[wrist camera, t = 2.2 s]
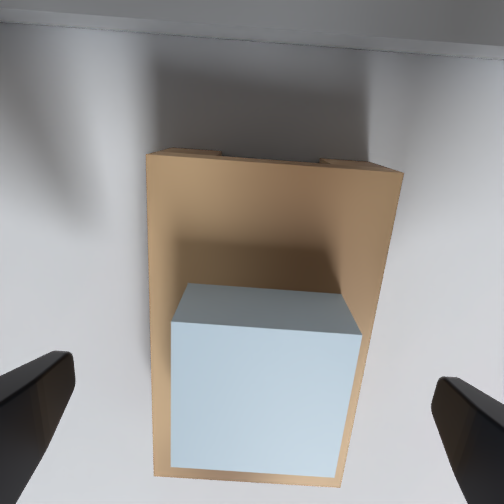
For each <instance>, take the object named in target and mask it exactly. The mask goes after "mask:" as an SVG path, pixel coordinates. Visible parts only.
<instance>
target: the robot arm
mask: <svg viewBox="0 0 504 504" xmlns="http://www.w3.org/2000/svg"><path fill="white" fill-rule="evenodd" d="M74 387H75V370H74V361H73V355H72V354H71V353H70V352H67V351H52V352H50V353H48V354H46V355H43V356H41V357H39V358H37V359H35V360H33V361H31V362H29V363H27V364H24V365H22V366H20V367H18V368H16V369H14V370H12V371H10V372H8V373H6V374H3V375H1V376H0V504H16V502H17V500H18V499H19V497H20V495H21V494H22V492H23V490H24V488H25V487H26V485H27V483H28V481H29V480H30V478H31V476H32V474H33V473H34V471H35V469H36V468H37V466H38V464H39V462H40V461H41V459H42V457H43V455H44V453H45V452H46V450H47V448H48V446H49V443H50V441H51V439H52V437H53V435H54V433H55V430H56V428H57V426H58V424H59V421H60V419H61V417H62V415H63V413H64V410H65V408H66V406H67V404H68V401H69V399H70V397H71V395H72V393H73V390H74ZM431 411H432V415H433V418H434V420H435V423H436V426H437V429H438V431H439V434H440V437H441V440H442V443H443V445H444V448H445V451H446V454H447V456H448V459H449V462H450V465H451V467H452V470H453V472H454V475H455V477H456V479H457V482H458V484H459V486H460V488H461V490H462V493H463V495H464V497H465V499H466V501H467V503H468V504H504V404H502V403H500V402H498V401H497V400H495V399H493V398H492V397H490V396H488V395H487V394H485V393H483V392H482V391H480V390H478V389H477V388H475V387H473V386H472V385H470V384H468V383H467V382H465V381H463V380H461V379H460V378H457V377H441V378H439V380H438V382H437V385H436V389H435V392H434V396H433V399H432V403H431Z"/></svg>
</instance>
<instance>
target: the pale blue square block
mask: <svg viewBox="0 0 504 504" xmlns="http://www.w3.org/2000/svg"><path fill="white" fill-rule="evenodd" d="M361 340H362V333H361V331H360V329H359V327H358V326H357V324H356V322H355V320H354V318H353V316H352V314H351V312H350V310H349V308H348V306H347V304H346V302H345V300H344V298H343V296H342V294H334V293H320V292H306V291H292V290H278V289H265V288H251V287H237V286H223V285H209V284H195V283H188V284H187V287H186V289H185V291H184V293H183V296H182V298H181V300H180V302H179V305H178V307H177V309H176V312H175V314H174V316H173V318H172V321H171V467H178V468H194V469H209V470H224V471H239V472H254V473H270V474H285V475H300V476H315V477H330V478H335V473H336V467H337V462H338V457H339V452H340V447H341V442H342V437H343V432H344V427H345V422H346V416H347V411H348V406H349V401H350V396H351V391H352V386H353V381H354V376H355V370H356V365H357V360H358V355H359V350H360V345H361Z"/></svg>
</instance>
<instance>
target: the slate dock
mask: <svg viewBox="0 0 504 504" xmlns="http://www.w3.org/2000/svg"><path fill="white" fill-rule="evenodd" d="M0 22H8V23H21V24H34V25H47V26H60V27H74V28H87V29H100V30H113V31H126V32H139V33H152V34H166V35H179V36H192V37H205V38H218V39H231V40H245V41H258V42H271V43H284V44H297V45H310V46H324V47H337V48H350V49H363V50H376V51H389V52H402V53H416V54H429V55H442V56H455V57H468V58H481V59H495V60H504V0H0Z"/></svg>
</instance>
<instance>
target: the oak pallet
mask: <svg viewBox="0 0 504 504" xmlns="http://www.w3.org/2000/svg"><path fill="white" fill-rule="evenodd" d="M403 175H404V173H402V172H399V171H396V170H393V169H390V168H387V167H384V166H381V165H377V164H374V163H371V162H366V161H352V160H338V159H324V158H320V161H319V163H310V162H296V161H282V160H268V159H254V158H241V157H227V156H222V151H214V150H200V149H187V148H173V147H172V148H168V149H165V150H161V151H157V152H153V153H149V154H146V183H147V223H148V263H149V303H150V343H151V384H152V424H153V464H154V476H160V477H176V478H192V479H208V480H224V481H240V482H256V483H272V484H288V485H304V486H320V487H336V488H340V487H341V482H342V477H343V472H344V467H345V462H346V457H347V452H348V447H349V442H350V437H351V432H352V427H353V423H354V418H355V413H356V408H357V403H358V398H359V393H360V388H361V383H362V378H363V373H364V368H365V363H366V358H367V353H368V348H369V343H370V338H371V333H372V329H373V324H374V319H375V314H376V309H377V304H378V299H379V294H380V289H381V284H382V279H383V274H384V269H385V264H386V259H387V254H388V249H389V244H390V239H391V235H392V230H393V225H394V220H395V215H396V210H397V205H398V200H399V195H400V190H401V185H402V180H403ZM188 283H195V284H209V285H223V286H237V287H251V288H265V289H278V290H292V291H306V292H320V293H334V294H342V296H343V298H344V300H345V302H346V304H347V306H348V308H349V310H350V312H351V314H352V316H353V318H354V320H355V322H356V324H357V326H358V327H359V329H360V331H361V333H362V340H361V345H360V350H359V355H358V360H357V365H356V370H355V376H354V381H353V386H352V391H351V396H350V401H349V406H348V411H347V416H346V422H345V427H344V432H343V437H342V442H341V447H340V452H339V457H338V462H337V467H336V473H335V478H330V477H315V476H300V475H285V474H270V473H254V472H239V471H224V470H209V469H194V468H178V467H171V321H172V318H173V316H174V314H175V312H176V309H177V307H178V305H179V302H180V300H181V298H182V296H183V293H184V291H185V289H186V287H187V284H188Z"/></svg>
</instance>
